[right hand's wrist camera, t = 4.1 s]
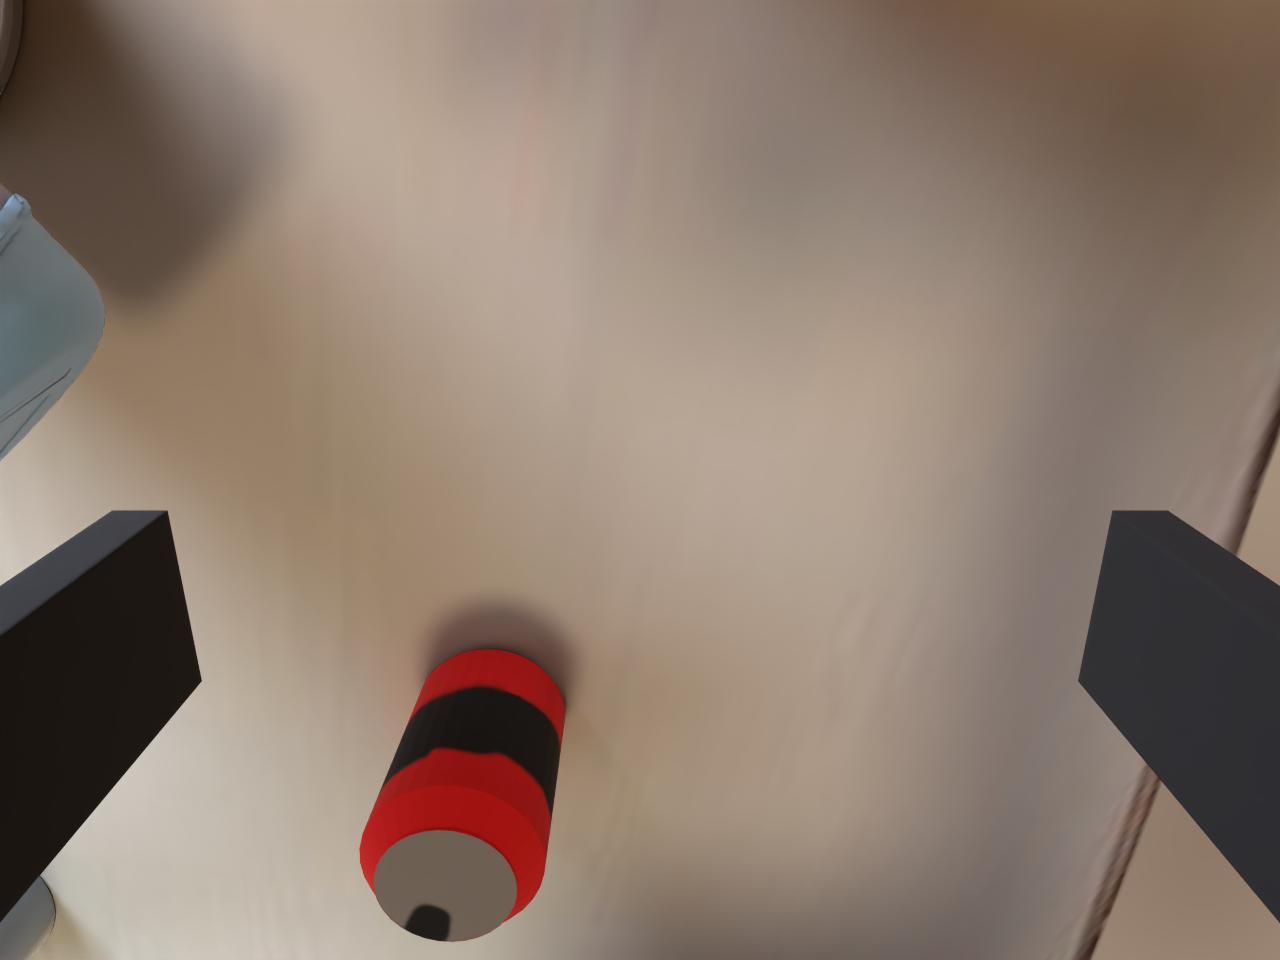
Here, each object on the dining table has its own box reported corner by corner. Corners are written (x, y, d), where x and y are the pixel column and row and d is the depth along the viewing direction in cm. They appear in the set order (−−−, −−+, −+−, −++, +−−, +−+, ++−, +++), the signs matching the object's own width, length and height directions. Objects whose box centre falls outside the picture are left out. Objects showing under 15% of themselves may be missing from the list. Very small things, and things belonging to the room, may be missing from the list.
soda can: (403, 742, 47) (328, 929, 35) (444, 625, 44) (377, 785, 33) (538, 784, 48) (506, 979, 36) (586, 672, 45) (567, 843, 34)
